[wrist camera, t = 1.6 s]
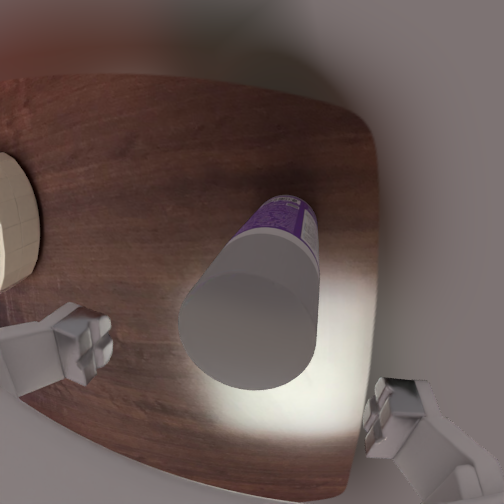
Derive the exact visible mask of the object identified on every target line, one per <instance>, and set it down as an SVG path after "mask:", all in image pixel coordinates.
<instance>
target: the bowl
mask: <svg viewBox="0 0 504 504" xmlns="http://www.w3.org/2000/svg"><path fill="white" fill-rule="evenodd" d="M39 243H40V221H39V213H38V207H37V203H36V199H35V195H34V192H33V189H32V187H31V184H30V182H29V180H28V178H27V176H26V174H25V173H24V171H23V170H22V169H21V167H20V166H19V164H18V163H17V162H16V160H15V159H14V158H12V157H10V156H9V155H7V154H6V153H4V152H0V294H1V293H3V292H5V291H6V290H8V289H10V288H11V287H13V286H15V285H17V284H18V283H20V282H22V281H23V280H25V279H26V278H27V277H28V276H29V275H30V274H31V273H32V271H33V269H34V266H35V264H36V261H37V259H38V250H39Z"/></svg>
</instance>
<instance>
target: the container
mask: <svg viewBox="0 0 504 504" xmlns="http://www.w3.org/2000/svg"><path fill="white" fill-rule="evenodd" d="M319 284H320V269H319V244H318V225H317V219H316V216H315V213H314V211H313V210H312V208H311V207H310V206H309V205H308V204H307V203H306V202H305V201H304V200H302V199H300V198H298V197H296V196H292V195H279V196H275V197H273V198H271V199H269V200H267V201H266V202H265V203H264V204H263V205H262V206H261V207H260V208H259V209H258V210H257V211H256V212H255V213H254V214H253V215H252V217H251V218H250V219H249V220H248V221H247V222H246V223H245V224H244V225H243V226H242V227H241V229H240V230H239V231H238V232H237V233H236V234H235V235H234V236H233V237H232V238H231V240H230V241H229V242H228V243H227V244H226V245H225V246H224V248H223V249H222V251H221V252H220V253H219V255H218V256H217V257H216V258H215V260H214V261H213V262H212V264H211V265H210V266H209V267H208V269H207V270H206V271H205V273H204V274H203V275H202V276H201V278H200V279H199V280H198V282H197V283H196V284H195V285H194V287H193V288H192V289H191V291H190V292H189V293H188V295H187V296H186V298H185V299H184V301H183V303H182V305H181V308H180V312H179V317H178V329H179V335H180V339H181V342H182V344H183V347H184V349H185V351H186V352H187V354H188V356H189V357H190V358H191V360H192V361H193V362H194V363H195V364H196V365H197V366H198V367H199V368H200V369H201V370H202V371H203V372H204V373H206V374H207V375H208V376H210V377H211V378H213V379H215V380H217V381H219V382H221V383H223V384H225V385H228V386H231V387H235V388H239V389H245V390H265V389H271V388H275V387H279V386H281V385H284V384H286V383H288V382H290V381H291V380H293V379H294V378H296V377H297V376H298V375H300V374H301V373H302V372H303V371H304V370H305V368H306V367H307V366H308V364H309V363H310V361H311V359H312V357H313V354H314V351H315V347H316V337H317V322H318V304H319Z"/></svg>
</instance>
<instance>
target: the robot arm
mask: <svg viewBox="0 0 504 504" xmlns="http://www.w3.org/2000/svg"><path fill="white" fill-rule="evenodd" d="M110 329H111V323H110V318H109V317H108V316H107V315H105V314H102V313H99V312H96V311H94V310H91V309H88V308H86V307H82V306H80V305H78V304H75V303H72V302H68V303H66V304H65V305H63V306H62V307H60V308H59V309H57V310H56V311H54V312H53V313H52V314H50V315H49V316H47V317H46V318H44V319H43V320H42V321H40V322H39V323H38V322H36V321H34V322H29V323H23V324H18V325H13V326H7V327H2V328H0V504H306V503H297V502H290V501H283V500H276V499H270V498H264V497H259V496H253V495H248V494H243V493H239V492H234V491H230V490H226V489H222V488H218V487H214V486H210V485H206V484H203V483H199V482H196V481H192V480H189V479H186V478H183V477H179V476H176V475H173V474H170V473H167V472H164V471H162V470H159V469H156V468H153V467H151V466H148V465H145V464H143V463H140V462H138V461H135V460H133V459H130V458H128V457H126V456H123V455H121V454H119V453H116V452H114V451H112V450H110V449H107V448H105V447H103V446H101V445H99V444H97V443H95V442H93V441H91V440H89V439H87V438H85V437H83V436H81V435H79V434H77V433H75V432H73V431H71V430H69V429H68V428H66V427H64V426H62V425H60V424H59V423H57V422H55V421H53V420H52V419H50V418H48V417H47V416H45V415H43V414H42V413H40V412H38V411H37V410H35V409H34V408H32V407H30V406H29V405H27V404H26V403H24V402H23V401H21V400H20V399H19V396H22V395H24V394H27V393H30V392H32V391H35V390H37V389H40V388H42V387H45V386H47V385H49V384H52V383H54V382H57V381H59V380H62V379H64V377H65V378H68V379H70V380H72V381H74V382H76V383H79V384H81V385H83V386H86V385H87V384H88V383H89V382H90V381H91V380H92V379H93V378H94V377H95V376H96V375H97V370H96V369H97V368H100V367H103V366H105V365H106V364H107V362H108V361H109V359H110V357H111V355H112V350H113V341H112V338H111V337H110V335H109V334H108V331H109V330H110ZM375 394H376V395H374V396H373V397H371V398H370V399H369V401H368V403H367V405H366V407H365V411H364V415H363V428H364V430H365V431H366V432H367V433H368V435H367V436H366V438H365V451H366V457H371V458H385V459H393V461H394V463H395V464H396V465H397V467H398V468H399V470H400V471H401V472H402V474H403V475H404V476H405V478H406V479H407V480H408V482H409V483H410V484H411V486H412V487H413V488H414V490H415V491H416V493H417V494H418V495H419V497H420V498H421V499H422V501H423V502H422V503H421V504H504V475H503V472H502V470H501V467H500V464H499V462H498V460H497V459H496V458H495V457H494V456H493V455H492V454H490V453H489V452H488V451H487V450H485V449H484V448H483V447H482V446H481V445H480V444H478V443H477V442H476V441H475V440H474V439H472V438H471V437H470V436H469V435H468V434H466V433H465V432H464V431H463V430H461V429H460V428H459V427H458V426H457V425H456V424H454V423H453V422H452V421H451V420H449V419H448V418H447V417H442V414H441V411H440V409H439V406H438V403H437V401H436V398H435V396H434V393H433V390H432V388H431V385H430V383H429V382H428V381H426V380H404V379H394V378H384V377H380V379H379V380H378V381H377V384H376V386H375Z"/></svg>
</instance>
